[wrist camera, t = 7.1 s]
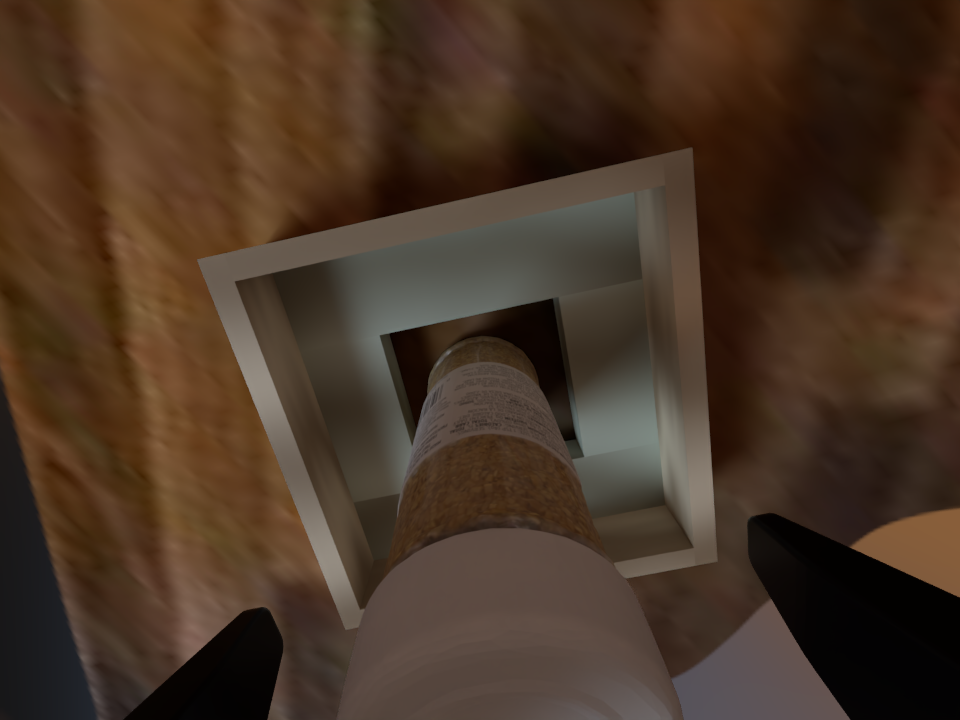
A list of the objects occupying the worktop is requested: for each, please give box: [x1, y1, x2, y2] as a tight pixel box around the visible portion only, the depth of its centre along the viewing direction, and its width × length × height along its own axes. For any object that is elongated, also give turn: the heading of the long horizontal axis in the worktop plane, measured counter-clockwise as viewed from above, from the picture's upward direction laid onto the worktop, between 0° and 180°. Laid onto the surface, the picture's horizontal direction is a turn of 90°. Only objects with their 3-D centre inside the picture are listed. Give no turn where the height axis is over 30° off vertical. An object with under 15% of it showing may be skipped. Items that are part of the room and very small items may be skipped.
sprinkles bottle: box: [337, 336, 683, 720], centre depth 12 cm, size 5×5×14 cm
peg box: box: [197, 147, 717, 630], centre depth 16 cm, size 14×14×4 cm
